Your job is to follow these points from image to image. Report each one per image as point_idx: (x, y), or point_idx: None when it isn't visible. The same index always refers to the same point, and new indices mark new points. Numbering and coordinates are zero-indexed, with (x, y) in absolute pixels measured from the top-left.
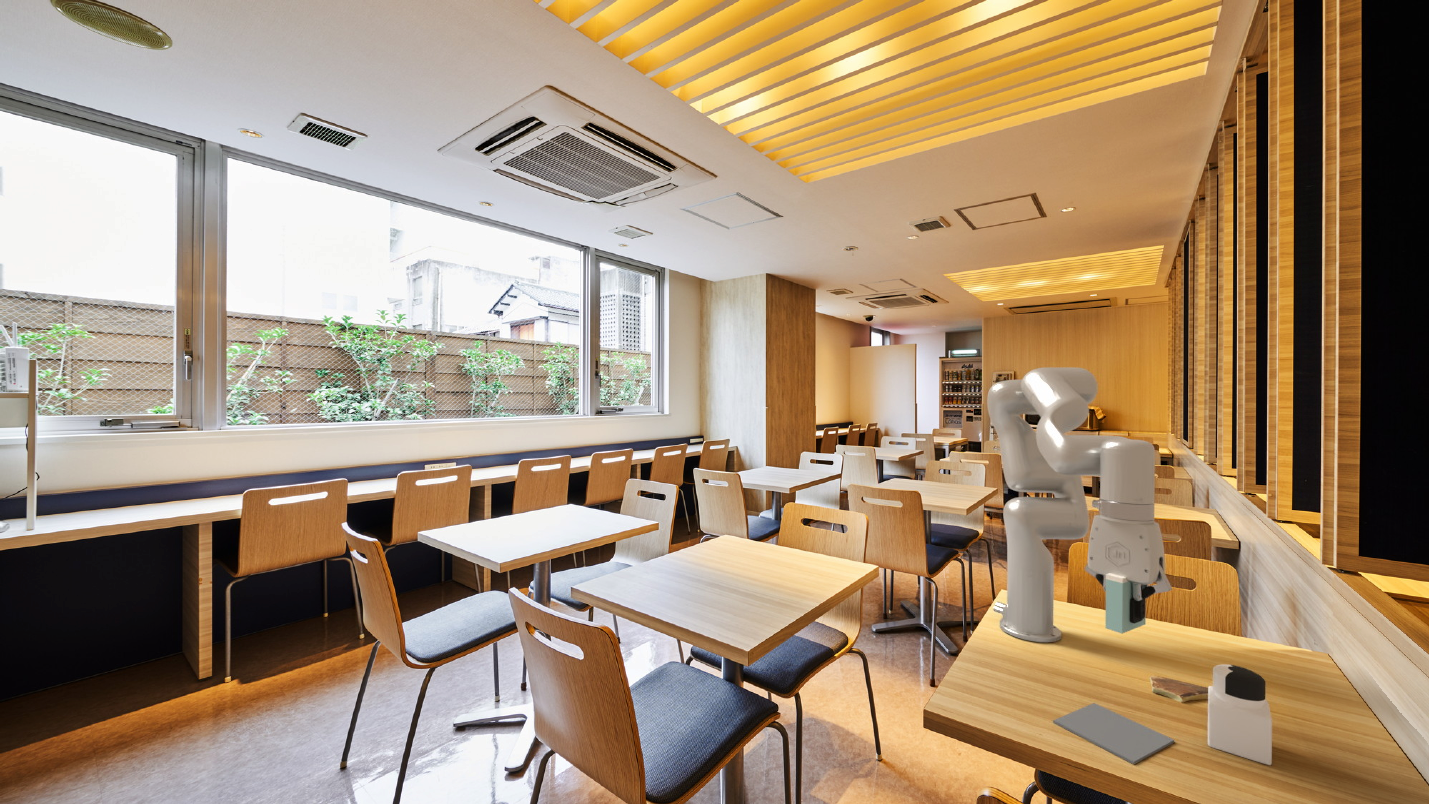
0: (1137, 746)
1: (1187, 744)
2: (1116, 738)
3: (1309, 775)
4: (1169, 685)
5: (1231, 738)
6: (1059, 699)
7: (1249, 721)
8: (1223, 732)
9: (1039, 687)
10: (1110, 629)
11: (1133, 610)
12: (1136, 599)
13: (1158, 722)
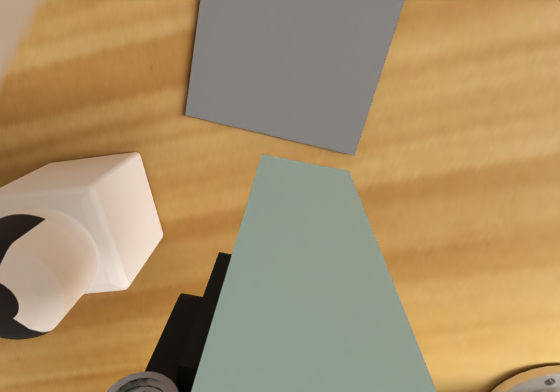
0: (228, 6)
1: (167, 127)
2: (272, 3)
3: (6, 182)
4: None
5: (88, 165)
6: (425, 117)
7: (26, 186)
8: (96, 166)
9: (479, 143)
10: (322, 167)
11: (202, 300)
12: (158, 383)
13: (233, 182)
